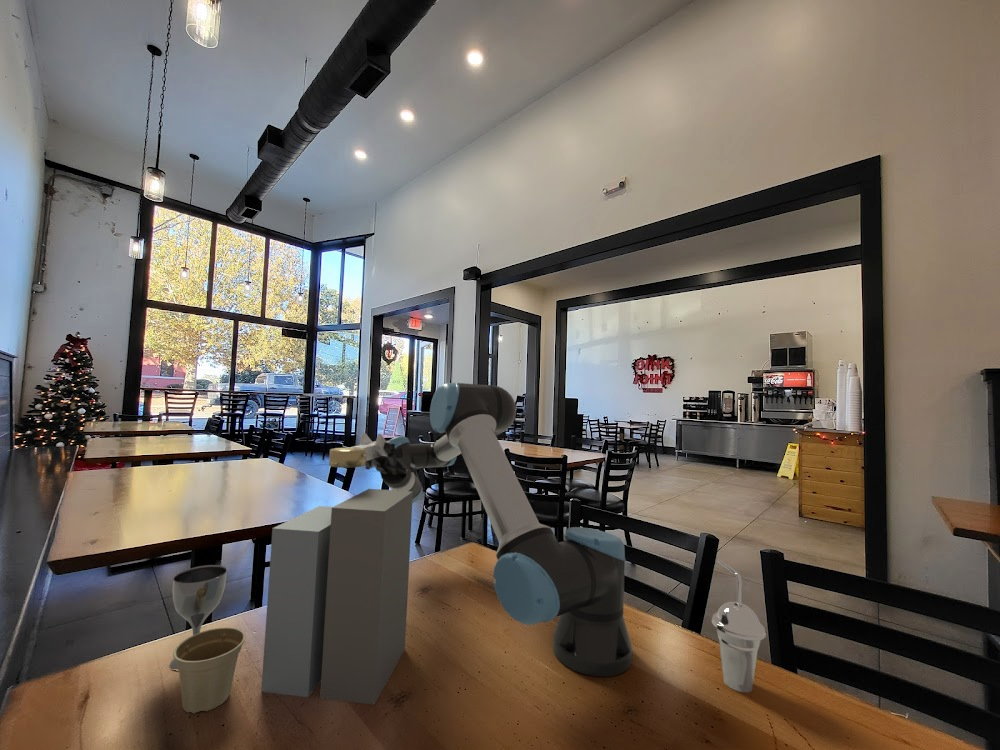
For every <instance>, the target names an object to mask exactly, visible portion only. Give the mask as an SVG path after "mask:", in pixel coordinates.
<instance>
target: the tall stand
mask: <svg viewBox="0 0 1000 750" xmlns="http://www.w3.org/2000/svg"><path fill="white" fill-rule="evenodd" d="M412 499H413V492H411V491H396V490H391V489H376V488H368V489H366V490H363V491H362V492H360V493H358V494H356V495H354V496H352V497H350V498H348V499H345V500H344V501H342V502H340V503H338V504H336V505H334V506H331V507H332V512H331V528H330V544H329V561H328V577H327V593H326V609H325V625H324V642H323V658H322V674H321V681H320V690H319V691H320V693H319V699H320V698H324V699H323V700H329V701H330V700H331V701H337V700H338V701H339V702H345V703H346V702H348V703H357V704H364V705H374V704H376V703H377V702H378V699H379V697H380V695H381V694H382V692H383V690H384V688H385V686H386V684H387V683H388V681H389V679H390V677H391V676H392V674H393V672H394V670H395V668H396V666H397V665H398V663H399V662H400V659H401V657H402V656H403V654H404V653H405V650H406V635H407V631H406V630H407V615H408V614H407V613H408V597H409V594H408V593H409V575H410V574H409V573H410V553H411V534H412V517H413V515H412V514H413V503H412Z"/></svg>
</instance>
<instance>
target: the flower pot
mask: <svg viewBox="0 0 1000 750" xmlns="http://www.w3.org/2000/svg"><path fill="white" fill-rule="evenodd" d="M246 637H247V636H246V633H245V632H244V631H243V630H242V629H241V628H238V627H237V628H236V627H231V626H230V627H229V626H227V627H217V628H211V629H207V630H204V631H200V633H198V634H195V635H193V634H192V635H191V636H189V637H187V638H186V639H184V640H182V641H181V642H180V643H179V644H177V645H176V646H175V648H174V650H173V653H172V657H173V659H175V660H176V662H177V666H178V668H179V673H178V674H179V683H180V692H181V693H180V694H181V705H182V709H183V711H185V712H186V713H189V712H192V713H191V714H196V713H199V712H201V711H202V712H209V711H211V710H214V709H215V708H217V707H219V706H220V705H222V704H223V703H224V702H225V701H227V699H228V698H229V696H230V694H231V692H232V686H233V682H234V675H235V671H236V666H237V661H238V656H239V654H240V652H241V650H242V647H243V645H244V643H245V641H246ZM213 708H214V709H213ZM208 710H209V711H208Z"/></svg>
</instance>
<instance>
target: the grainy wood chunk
mask: <svg viewBox="0 0 1000 750" xmlns="http://www.w3.org/2000/svg"><path fill="white" fill-rule="evenodd" d="M386 442H387V443H389V444H390V441H389V440H386ZM375 443H376V440H375V441H372V442H370V443H366V444H362V445H360V444H359V445H354V446H351V447H335V448H330V449H329V460H328V466H329V467H332V468H342V469H345V468H358V467H359V468H361V467H364V466H365V467H366V461H368V460H371V459H374V458H377V457H380V456H383V454H382V453H381V452H380V450H379V449H378V448H377V446H376V445H375Z"/></svg>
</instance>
